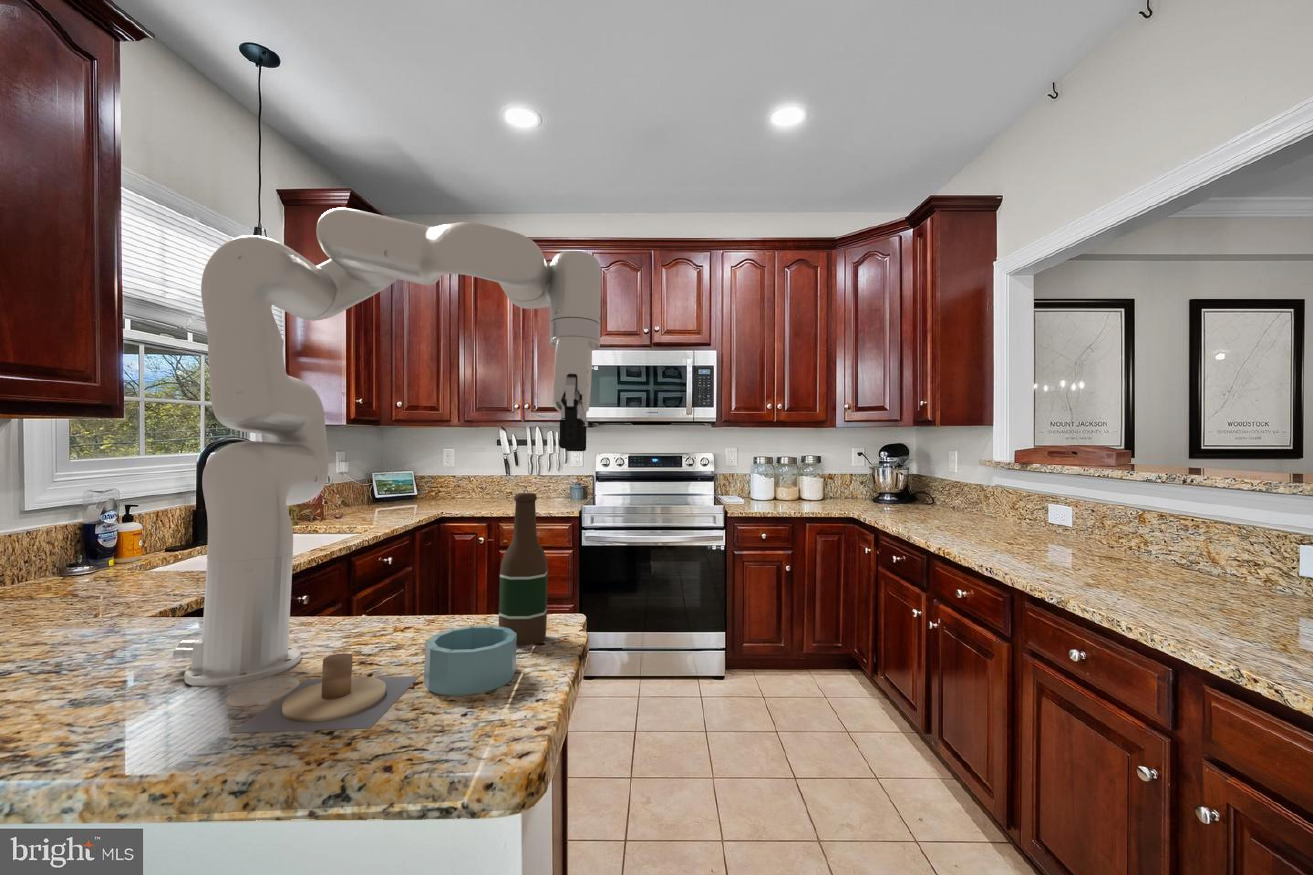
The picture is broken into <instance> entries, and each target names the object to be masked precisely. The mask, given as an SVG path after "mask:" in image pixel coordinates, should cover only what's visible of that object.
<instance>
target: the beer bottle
mask: <svg viewBox="0 0 1313 875" xmlns="http://www.w3.org/2000/svg"><path fill="white" fill-rule="evenodd" d="M513 500H514V501H515V508H514V509H515V510H514V521H513V522H514V523H513V534H512V538H511V542H510V544H509V546H508V547H507V549H506V551H505V552H504V553H503V557H502V560H501V562H500V569H499V595H498V597H499V598H498V599H499V600H498V626H499V627H505V628H510V629H511V630H512V631H514V632H515V633H516V634H517V640H516V647H517V646H520V647H521V646H531V645H532V646H537V645H540V644H541V645H542V644H543V642H544V640H545V637H546V635H547V625H548V623H547V622H548V621H547V618H548V572H549V571H548V558H547V555H546V552H545V550H544V548H543V547H542V545H541V544H540V542H539V540H538V534H537V514H536V513H537V512H536V511H537V510H536V501H537V500H538V497H537V493H535V492H518V493H515V496H514V498H513Z"/></svg>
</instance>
